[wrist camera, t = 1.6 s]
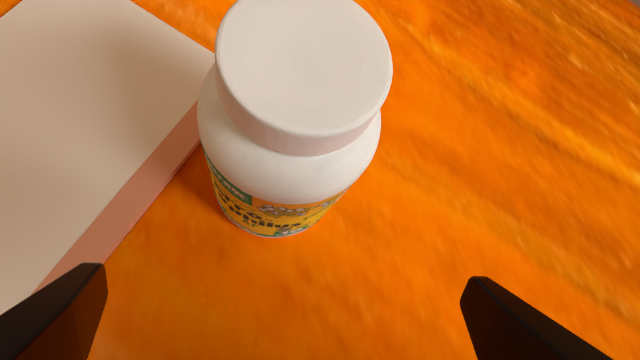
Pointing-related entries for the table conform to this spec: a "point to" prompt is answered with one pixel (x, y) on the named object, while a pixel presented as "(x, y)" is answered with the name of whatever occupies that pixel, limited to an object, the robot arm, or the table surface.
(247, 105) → the supplement bottle
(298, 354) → the table surface
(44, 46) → the notepad
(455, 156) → the table surface
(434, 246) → the table surface
